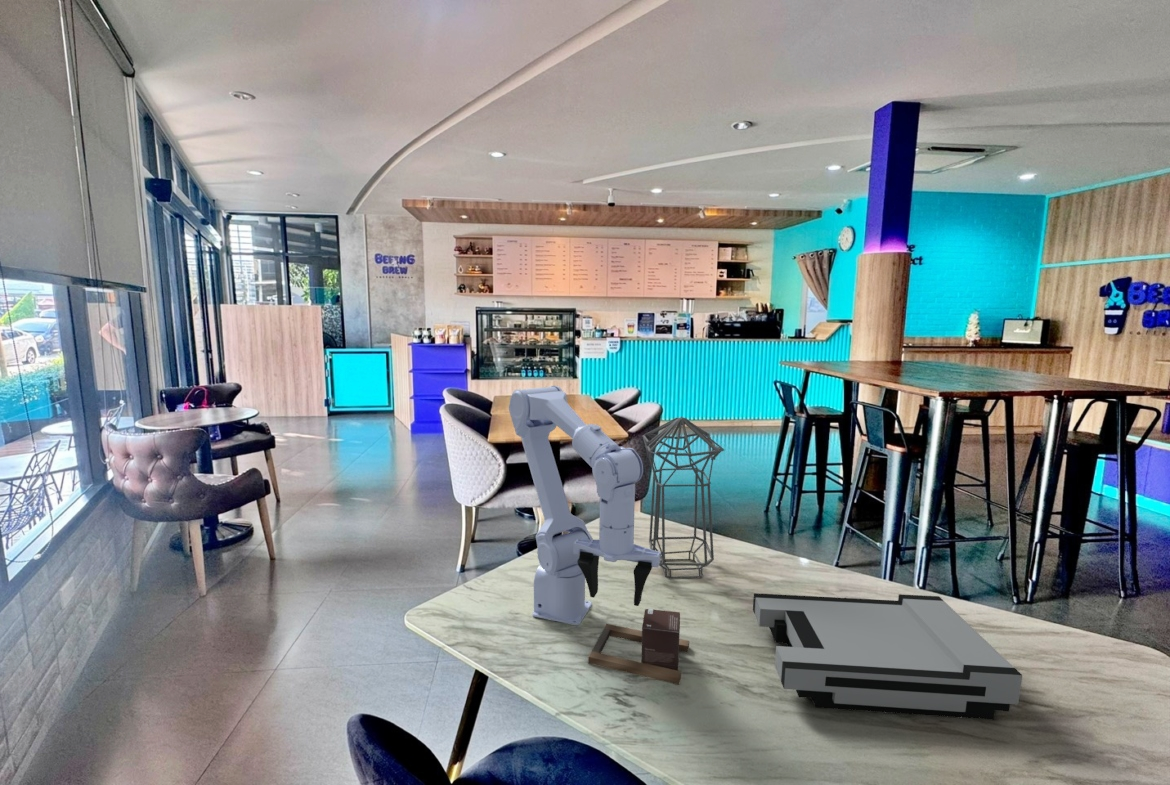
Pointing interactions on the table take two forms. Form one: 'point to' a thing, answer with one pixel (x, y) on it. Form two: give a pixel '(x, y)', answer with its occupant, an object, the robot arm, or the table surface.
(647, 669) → the wooden u-shaped frame
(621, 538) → the robot arm
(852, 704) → the game console
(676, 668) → the box
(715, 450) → the geometric lantern
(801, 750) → the table surface
